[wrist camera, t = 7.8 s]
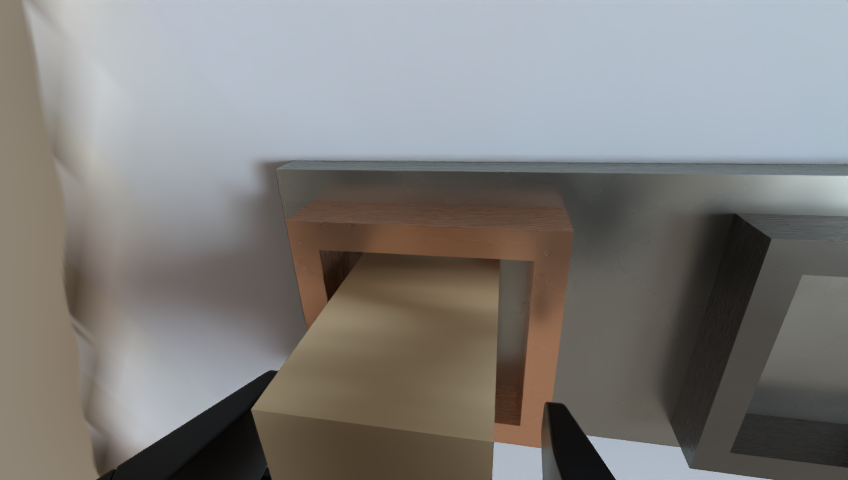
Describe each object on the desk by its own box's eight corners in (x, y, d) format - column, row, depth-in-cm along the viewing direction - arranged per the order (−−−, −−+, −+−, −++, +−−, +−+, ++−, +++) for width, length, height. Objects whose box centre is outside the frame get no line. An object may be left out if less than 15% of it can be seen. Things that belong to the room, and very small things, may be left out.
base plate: (331, 382, 16) (302, 434, 14) (291, 160, 12) (244, 184, 10) (936, 453, 12) (1031, 540, 10) (1143, 167, 9) (1367, 206, 6)
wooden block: (377, 355, 14) (292, 549, 8) (364, 251, 12) (251, 409, 7) (495, 367, 13) (486, 588, 8) (500, 258, 11) (494, 442, 6)
